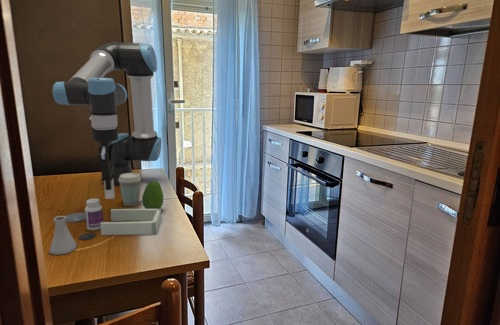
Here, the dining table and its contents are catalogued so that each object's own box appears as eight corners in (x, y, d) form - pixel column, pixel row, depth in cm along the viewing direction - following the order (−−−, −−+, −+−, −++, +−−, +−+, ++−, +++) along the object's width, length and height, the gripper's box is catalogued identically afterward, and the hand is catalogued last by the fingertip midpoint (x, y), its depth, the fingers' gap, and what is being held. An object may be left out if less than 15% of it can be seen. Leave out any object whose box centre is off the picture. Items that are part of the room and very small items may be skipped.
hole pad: (82, 233, 107) (81, 232, 107) (98, 232, 108) (98, 232, 108) (75, 240, 103) (75, 240, 103) (92, 240, 103) (92, 239, 103)
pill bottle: (107, 225, 114) (105, 199, 111) (95, 231, 109) (93, 204, 106) (94, 222, 115) (92, 196, 113) (82, 229, 110) (80, 201, 108)
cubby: (112, 219, 118) (111, 209, 118) (161, 218, 121) (161, 208, 120) (101, 235, 107) (100, 223, 106) (155, 234, 109) (155, 222, 108)
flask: (56, 243, 100) (52, 212, 98) (81, 243, 101) (78, 213, 99) (43, 255, 93) (39, 223, 91) (70, 255, 94) (67, 223, 92)
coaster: (68, 213, 122) (68, 212, 122) (91, 213, 123) (91, 212, 123) (59, 222, 114) (59, 221, 114) (83, 222, 115) (83, 221, 115)
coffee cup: (135, 208, 129) (133, 179, 126) (115, 206, 131) (113, 177, 128) (146, 201, 137) (144, 173, 134) (127, 199, 139) (125, 171, 136)
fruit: (138, 210, 127) (136, 181, 124) (156, 205, 133) (155, 177, 130) (149, 216, 122) (148, 185, 119) (167, 211, 128) (167, 181, 125)
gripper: (96, 124, 110) (101, 191, 116) (87, 131, 98) (93, 205, 104) (120, 124, 112) (124, 190, 118) (114, 131, 99) (119, 204, 105)
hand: (110, 197), depth 111 cm, fingers closed
